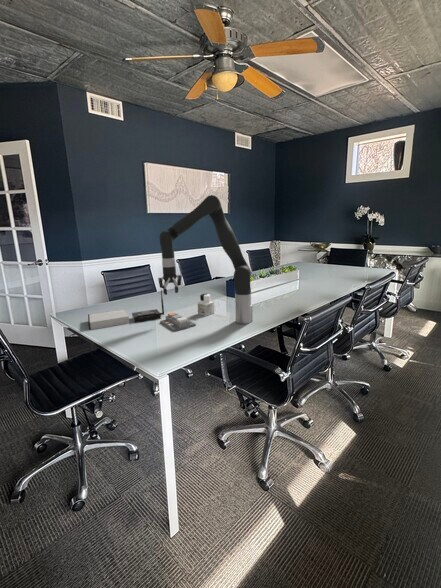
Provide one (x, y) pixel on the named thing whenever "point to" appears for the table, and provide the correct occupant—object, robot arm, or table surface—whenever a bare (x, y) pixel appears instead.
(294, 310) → the table surface
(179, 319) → the key cream
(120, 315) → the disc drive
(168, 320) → the keypad
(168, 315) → the key terracotta
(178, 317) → the key slate
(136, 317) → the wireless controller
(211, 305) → the container
